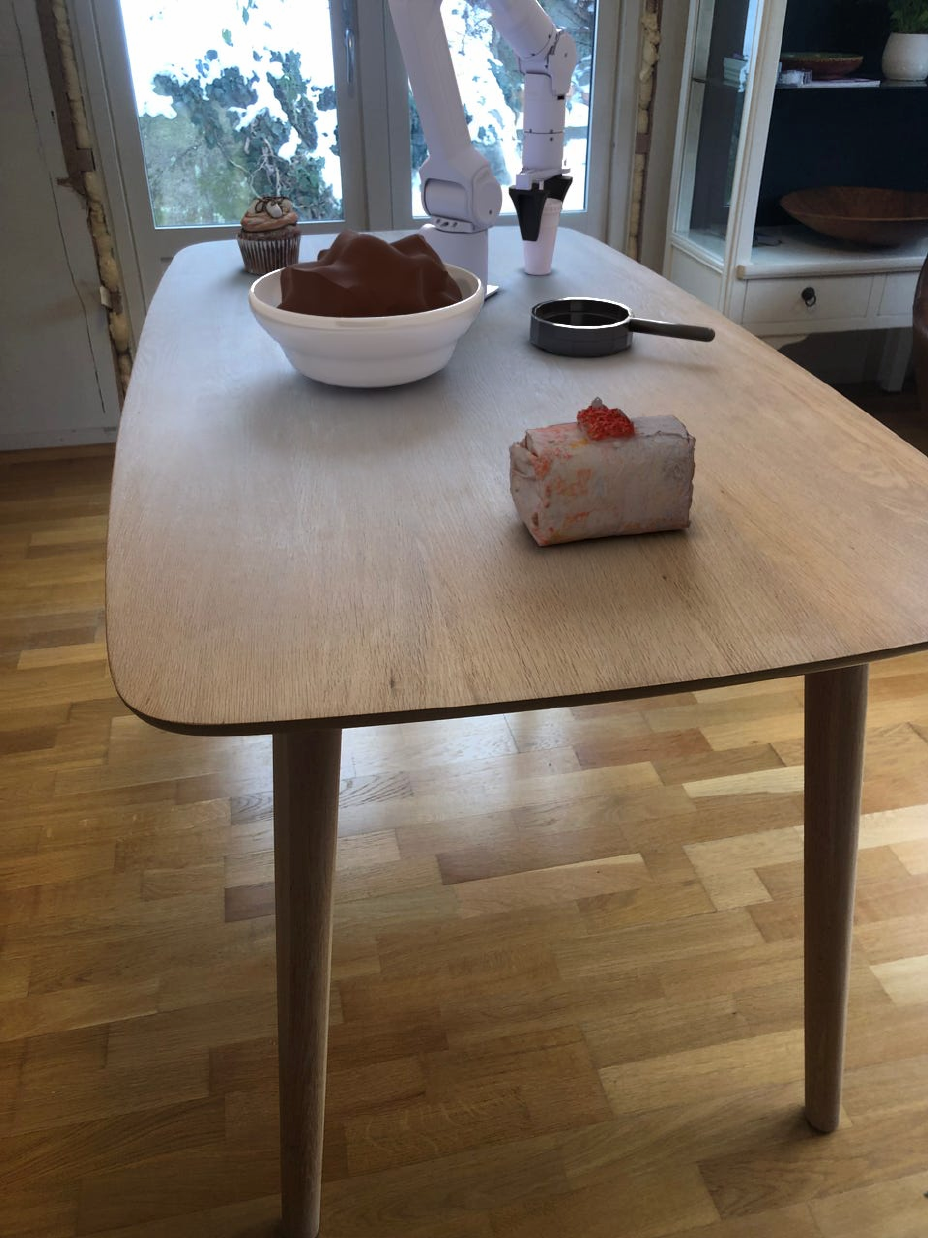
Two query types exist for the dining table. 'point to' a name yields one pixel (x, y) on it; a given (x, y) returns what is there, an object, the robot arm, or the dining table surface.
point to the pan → (581, 326)
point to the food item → (603, 476)
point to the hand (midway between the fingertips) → (539, 234)
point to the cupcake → (269, 235)
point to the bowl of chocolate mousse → (368, 311)
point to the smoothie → (543, 239)
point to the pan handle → (671, 330)
